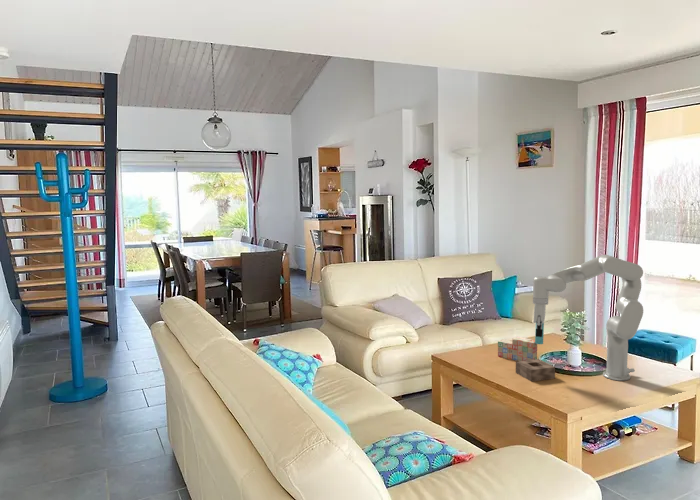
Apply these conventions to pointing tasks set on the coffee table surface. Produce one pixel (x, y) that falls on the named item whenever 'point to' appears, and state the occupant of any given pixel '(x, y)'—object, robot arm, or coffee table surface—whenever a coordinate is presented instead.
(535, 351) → the stack of blocks
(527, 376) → the socket block
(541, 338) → the peg
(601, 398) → the coffee table surface
